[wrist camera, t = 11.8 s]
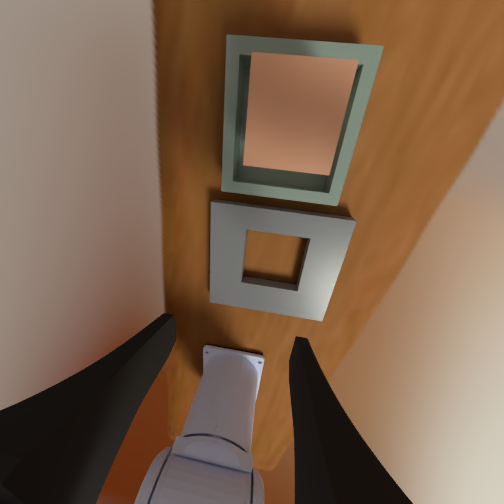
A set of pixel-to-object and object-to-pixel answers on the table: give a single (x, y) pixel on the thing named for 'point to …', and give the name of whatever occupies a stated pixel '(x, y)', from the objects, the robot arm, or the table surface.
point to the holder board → (267, 291)
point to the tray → (235, 118)
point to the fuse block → (296, 111)
